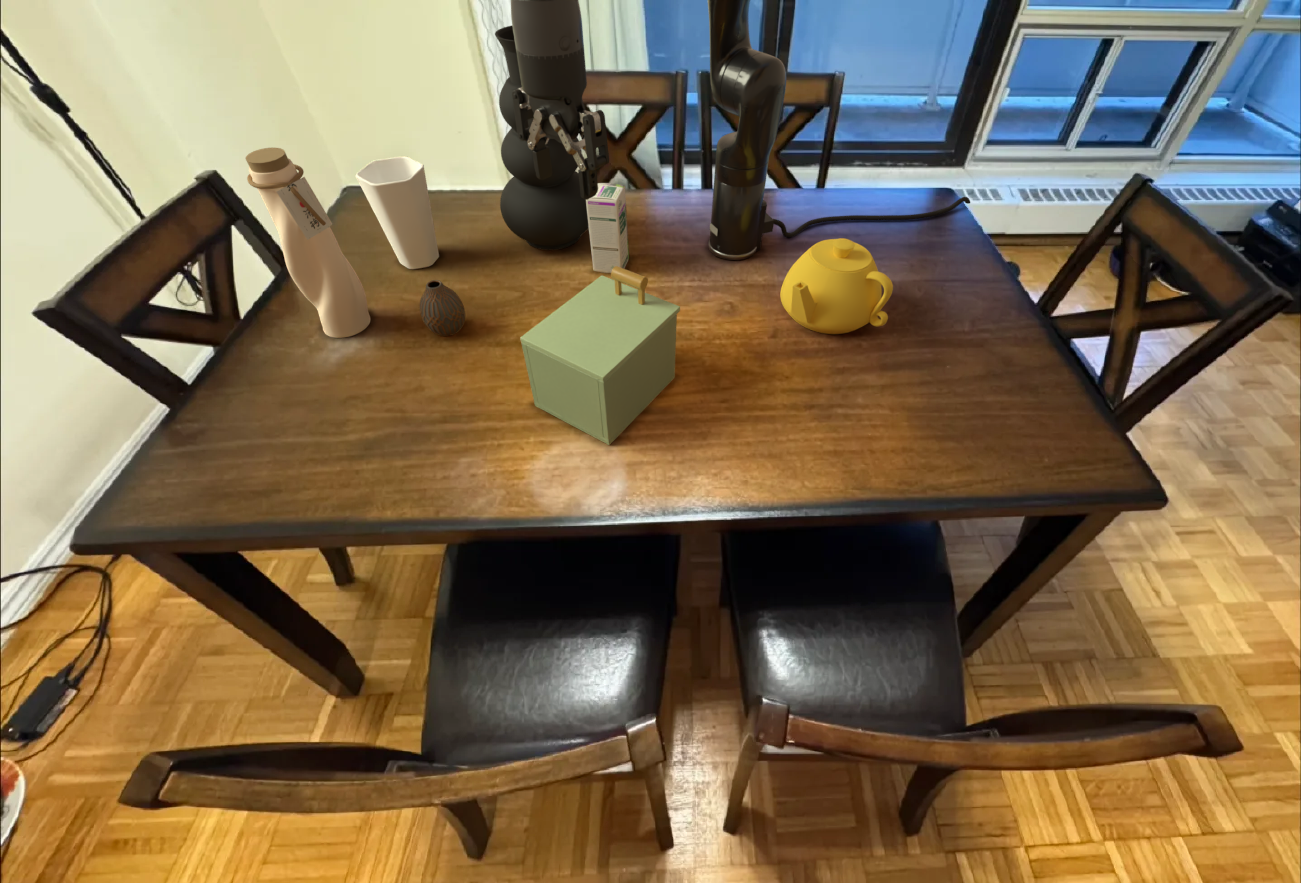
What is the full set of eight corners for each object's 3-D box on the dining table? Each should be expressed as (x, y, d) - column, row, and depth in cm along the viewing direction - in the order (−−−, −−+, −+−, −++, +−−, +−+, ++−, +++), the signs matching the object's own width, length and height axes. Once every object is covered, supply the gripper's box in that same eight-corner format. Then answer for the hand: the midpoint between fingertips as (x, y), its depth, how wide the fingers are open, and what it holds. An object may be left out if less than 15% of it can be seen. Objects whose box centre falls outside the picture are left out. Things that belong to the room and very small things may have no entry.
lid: (602, 279, 87) (599, 249, 83) (680, 311, 82) (681, 280, 78) (520, 342, 78) (514, 311, 74) (603, 382, 72) (600, 350, 69)
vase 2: (492, 256, 114) (443, 45, 87) (527, 210, 125) (493, 13, 99) (583, 268, 111) (560, 54, 84) (610, 220, 122) (598, 19, 96)
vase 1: (433, 346, 96) (416, 301, 89) (423, 323, 100) (406, 278, 93) (474, 334, 98) (461, 289, 91) (463, 311, 102) (449, 267, 95)
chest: (603, 345, 96) (598, 282, 87) (674, 377, 90) (677, 314, 82) (534, 405, 87) (520, 342, 78) (609, 445, 81) (603, 382, 72)
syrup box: (622, 275, 109) (619, 199, 98) (592, 271, 110) (585, 196, 99) (629, 258, 113) (626, 184, 102) (599, 255, 114) (593, 181, 103)
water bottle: (392, 314, 101) (324, 147, 80) (359, 346, 96) (276, 175, 75) (343, 303, 104) (264, 137, 83) (308, 333, 98) (213, 163, 77)
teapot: (814, 271, 109) (829, 206, 100) (906, 315, 101) (932, 248, 91) (746, 318, 100) (755, 250, 91) (840, 370, 91) (862, 302, 82)
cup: (446, 241, 117) (421, 153, 105) (452, 267, 111) (425, 177, 98) (388, 250, 115) (355, 162, 102) (390, 278, 109) (355, 187, 96)
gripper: (619, 47, 63) (625, 193, 76) (533, 23, 70) (551, 161, 82) (568, 64, 60) (583, 215, 72) (482, 37, 66) (509, 180, 78)
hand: (566, 186), depth 77 cm, fingers open, 8 cm apart
